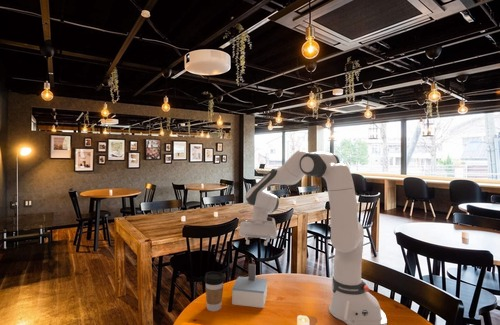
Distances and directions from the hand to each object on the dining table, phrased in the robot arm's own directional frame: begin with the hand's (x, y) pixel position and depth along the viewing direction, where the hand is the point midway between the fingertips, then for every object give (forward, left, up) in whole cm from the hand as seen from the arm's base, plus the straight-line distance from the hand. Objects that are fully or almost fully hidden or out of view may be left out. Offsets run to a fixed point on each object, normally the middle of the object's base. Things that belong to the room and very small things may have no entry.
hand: (256, 244), depth 138 cm
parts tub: (0, +16, -21) cm, 26 cm away
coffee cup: (+14, +26, -21) cm, 36 cm away
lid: (0, +16, -14) cm, 21 cm away
